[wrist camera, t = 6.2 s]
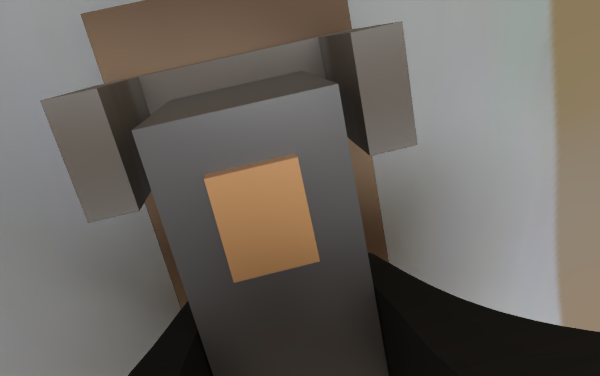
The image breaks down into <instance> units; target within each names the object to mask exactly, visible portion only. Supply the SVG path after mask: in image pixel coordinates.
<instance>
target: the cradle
mask: <svg viewBox="0 0 600 376" xmlns="http://www.w3.org/2000/svg"><path fill="white" fill-rule="evenodd" d="M81 17H82V20H83V23H84V26H85V29H86V32H87V35H88V38H89V40H90V43H91V46H92V49H93V52H94V55H95V58H96V61H97V64H98V67H99V70H100V73H101V76H102V79H103V81H104V84H101V85H97V86H94V87H90V88H86V89H82V90H79V91H75V92H71V93H67V94H64V95H60V96H56V97H53V98H49V99H45V100H41V104H42V107H43V109H44V112H45V114H46V117H47V119H48V122H49V124H50V127H51V129H52V132H53V135H54V137H55V140H56V142H57V145H58V147H59V150H60V152H61V155H62V157H63V160H64V163H65V165H66V168H67V170H68V173H69V175H70V178H71V180H72V183H73V186H74V188H75V191H76V193H77V196H78V198H79V201H80V203H81V206H82V208H83V211H84V214H85V216H86V219H87V221H88V223H90V222H94V221H98V220H102V219H107V218H111V217H115V216H119V215H123V214H128V213H132V212H136V211H139V210H140V209H141V207H142V205H143V204H144V202H145V204H146V207H147V210H148V213H149V216H150V219H151V222H152V225H153V228H154V231H155V234H156V237H157V239H158V242H159V245H160V248H161V251H162V254H163V257H164V260H165V263H166V266H167V269H168V272H169V275H170V278H171V280H172V283H173V286H174V289H175V292H176V295H177V298H178V301H179V304H180V307H181V309H182V308H183V306H184V305H185V304H186V302H187V301H188V299H187V296H186V293H185V290H184V287H183V284H182V281H181V278H180V275H179V272H178V269H177V266H176V263H175V260H174V257H173V254H172V251H171V248H170V245H169V242H168V239H167V236H166V233H165V230H164V227H163V224H162V221H161V218H160V215H159V212H158V209H157V206H156V203H155V200H154V197H153V194H152V191H151V188H150V185H149V182H148V179H147V176H146V173H145V170H144V167H143V164H142V161H141V158H140V155H139V152H138V149H137V146H136V143H135V140H134V137H133V134H132V131H131V130H133V129H134V128H135V127H136V126H138V125H139V124H140V123H142V122H143V121H144V120H146V119H147V118H148V117H149V116H151V115H152V114H153V113H155V112H156V111H157V110H158V109H160V108H161V107H162V106H164V105H165V104H166V103H168V102H169V101H170V100H173V99H177V98H182V97H186V96H191V95H195V94H200V93H204V92H209V91H213V90H217V89H222V88H226V87H231V86H235V85H240V84H244V83H249V82H253V81H258V80H262V79H267V78H271V77H276V76H280V75H285V74H289V73H294V72H298V71H304V72H307V73H310V74H313V75H315V76H318V77H321V78H324V79H327V80H329V81H332V82H335V83H338V86H339V91H340V97H341V103H342V108H343V114H344V120H345V126H346V131H347V137H348V143H349V149H350V154H351V160H352V166H353V172H354V177H355V183H356V189H357V195H358V200H359V206H360V212H361V218H362V223H363V229H364V235H365V241H366V246H367V252H368V253H370V252H371V253H373V254H374V255H376V256H378V257H380V258H381V259H383V260H385V261H386V262H388V263H389V261H388V255H387V249H386V242H385V236H384V230H383V223H382V217H381V211H380V204H379V198H378V192H377V185H376V179H375V173H374V167H373V160H372V155H376V154H381V153H385V152H389V151H393V150H397V149H402V148H406V147H410V146H414V145H417V138H416V130H415V122H414V114H413V105H412V97H411V89H410V81H409V73H408V65H407V57H406V48H405V40H404V32H403V24H402V22H396V23H390V24H383V25H377V26H371V27H365V28H358V29H352V27H351V21H350V15H349V8H348V2H347V0H145V1H140V2H135V3H131V4H126V5H121V6H116V7H111V8H107V9H102V10H97V11H92V12H87V13H83V14H81Z"/></svg>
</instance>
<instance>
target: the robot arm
mask: <svg viewBox="0 0 600 376" xmlns="http://www.w3.org/2000/svg"><path fill="white" fill-rule="evenodd" d="M368 258H369V263H370V269H371V275H372V281H373V286H374V292H375V298H376V304H377V309H378V315H379V321H380V327H381V332H382V338H383V344H384V350H385V355H386V361H387V367H388V373H389V376H600V332H595V331H588V330H582V329H576V328H570V327H564V326H558V325H553V324H548V323H544V322H539V321H534V320H530V319H526V318H522V317H518V316H514V315H510V314H506V313H503V312H499V311H496V310H493V309H489V308H486V307H484V306H481V305H478V304H475V303H472V302H469V301H466V300H463V299H461V298H458V297H456V296H453V295H451V294H449V293H446V292H444V291H442V290H440V289H437V288H435V287H433V286H431V285H429V284H427V283H425V282H423V281H421V280H419V279H417V278H415V277H413V276H411V275H409V274H407V273H406V272H404V271H402V270H400V269H398V268H397V267H395V266H393V265H391V264H390V263H388V262H386V261H385V260H383V259H381V258H380V257H378V256H376V255H374V254H373V253H371V252H370V253H368ZM128 376H213V374H212V371H211V368H210V365H209V362H208V359H207V356H206V353H205V350H204V347H203V344H202V341H201V338H200V335H199V332H198V329H197V326H196V323H195V320H194V317H193V314H192V311H191V308H190V305H189V302H188V301H187V302H186V304H185V305H184V306H183V308H182V309H181V310H180V312H179V313H178V314H177V316H176V317H175V318H174V320H173V321H172V322H171V324H170V325H169V326H168V328H167V329H166V330H165V331H164V333H163V334H162V335H161V337H160V338H159V339H158V340H157V342H156V343H155V344H154V346H153V347H152V348H151V349H150V350H149V352H148V353H147V354H146V355H145V356H144V357H143V358H142V360H141V361H140V362H139V363H138V364H137V365H136V367H135V368H134V369H133V370H132V371H131V372H130V374H129V375H128Z"/></svg>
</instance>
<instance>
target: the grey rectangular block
mask: <svg viewBox="0 0 600 376" xmlns="http://www.w3.org/2000/svg"><path fill="white" fill-rule="evenodd" d="M131 131H132V134H133V137H134V140H135V143H136V146H137V149H138V152H139V155H140V158H141V161H142V164H143V167H144V170H145V173H146V176H147V179H148V182H149V185H150V188H151V191H152V194H153V197H154V200H155V203H156V206H157V209H158V212H159V215H160V218H161V221H162V224H163V227H164V230H165V233H166V236H167V239H168V242H169V245H170V248H171V251H172V254H173V257H174V260H175V263H176V266H177V269H178V272H179V275H180V278H181V281H182V284H183V287H184V290H185V293H186V296H187V299H188V302H189V305H190V308H191V311H192V314H193V317H194V320H195V323H196V326H197V329H198V332H199V335H200V338H201V341H202V344H203V347H204V350H205V353H206V356H207V359H208V362H209V365H210V368H211V371H212V374H213V376H389V373H388V367H387V361H386V355H385V350H384V344H383V338H382V332H381V327H380V321H379V315H378V309H377V304H376V298H375V292H374V286H373V281H372V275H371V269H370V263H369V258H368V252H367V246H366V241H365V235H364V229H363V223H362V218H361V212H360V206H359V200H358V195H357V189H356V183H355V177H354V172H353V166H352V160H351V154H350V149H349V143H348V137H347V131H346V126H345V120H344V114H343V108H342V103H341V97H340V91H339V86H338V83H335V82H332V81H329V80H327V79H324V78H321V77H318V76H315V75H313V74H310V73H307V72H304V71H298V72H294V73H289V74H285V75H280V76H276V77H271V78H267V79H262V80H258V81H253V82H249V83H244V84H240V85H235V86H231V87H226V88H222V89H217V90H213V91H209V92H204V93H200V94H195V95H191V96H186V97H182V98H177V99H173V100H170V101H169V102H168V103H166V104H165V105H164V106H162V107H161V108H160V109H158V110H157V111H156V112H155V113H153V114H152V115H151V116H149V117H148V118H147V119H146V120H144V121H143V122H142V123H140V124H139V125H138V126H136V127H135V128H134V129H133V130H131Z"/></svg>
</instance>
